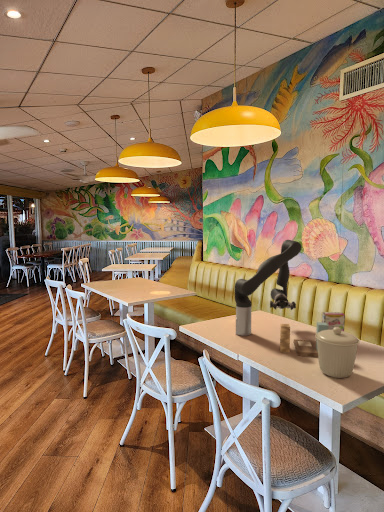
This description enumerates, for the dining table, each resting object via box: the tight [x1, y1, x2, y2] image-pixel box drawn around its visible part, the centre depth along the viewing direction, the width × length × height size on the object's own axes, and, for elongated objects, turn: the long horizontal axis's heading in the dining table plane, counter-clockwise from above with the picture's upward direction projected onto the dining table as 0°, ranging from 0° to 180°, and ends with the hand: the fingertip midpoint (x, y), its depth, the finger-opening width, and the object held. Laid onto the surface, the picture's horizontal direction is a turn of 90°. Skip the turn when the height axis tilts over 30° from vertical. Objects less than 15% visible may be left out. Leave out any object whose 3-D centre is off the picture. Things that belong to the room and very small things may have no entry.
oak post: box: [279, 323, 291, 354], centre depth 172 cm, size 4×4×14 cm
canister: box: [314, 327, 361, 379], centre depth 147 cm, size 18×18×21 cm
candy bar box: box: [321, 311, 346, 331], centre depth 186 cm, size 11×5×16 cm, turn 84°
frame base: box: [292, 321, 328, 358], centre depth 174 cm, size 16×18×16 cm
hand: (283, 308), depth 182 cm, fingers open, 8 cm apart
